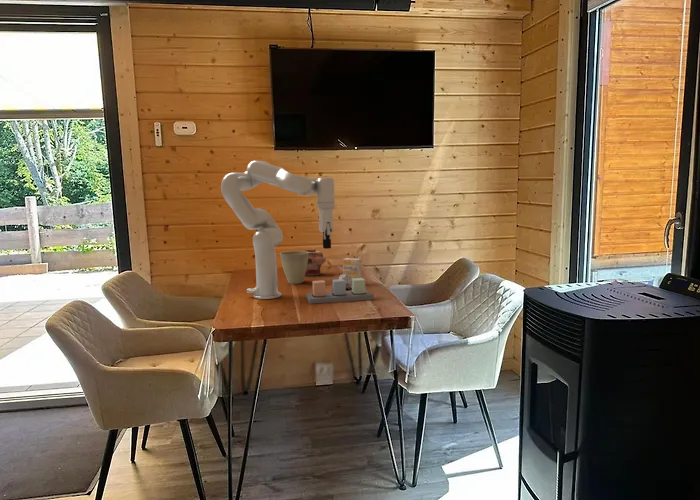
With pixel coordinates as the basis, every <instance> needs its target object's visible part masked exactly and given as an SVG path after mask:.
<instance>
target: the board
mask: <svg viewBox="0 0 700 500" xmlns="http://www.w3.org/2000/svg"><path fill="white" fill-rule="evenodd" d="M305 295H306V297H305V298H306V300H307V302H308V303H309V304H310V305H313V304H314V305H315V304H325V303H326V304H327V303H341V302H343V303H344V302H355V301H356V302H357V301H371V300H374V295H373V294H372V293H371V292H370V291H368V290H367V289H365V293H360V294H354V293H353V292H352V290H346V294H345V295H334V294H333V291H326V296H314V295H313V292H309V293H306V294H305Z"/></svg>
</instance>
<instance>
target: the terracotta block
mask: <svg viewBox="0 0 700 500" xmlns="http://www.w3.org/2000/svg"><path fill="white" fill-rule="evenodd" d="M326 292H327V291H326V281H325V280H324V279H323V280H321V279H320V280H312V293H313V295H314V296H326Z"/></svg>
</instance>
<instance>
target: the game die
mask: <svg viewBox="0 0 700 500" xmlns="http://www.w3.org/2000/svg"><path fill="white" fill-rule="evenodd" d="M338 279H344V280H345V283H346V289H350V290H352V279H353V278H352V277H351V276H350V275H349V273H348V274H343V273H342V274H341V273H340V272H339V276H338Z"/></svg>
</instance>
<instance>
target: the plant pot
mask: <svg viewBox="0 0 700 500" xmlns="http://www.w3.org/2000/svg"><path fill="white" fill-rule="evenodd" d="M308 254H309V252H307V251H305V250H291V251H290V250H289V251H288V250H287V251H282V252H280V253H279V256H280V260H281V265H282V268H283V272H284V274H285V278H286V279H287V280H286V281H287V282H288V284H290V285H298V284H302V283H303V282H304V279H305V276H306V275H305V273H306V268H307V263H308Z"/></svg>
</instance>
